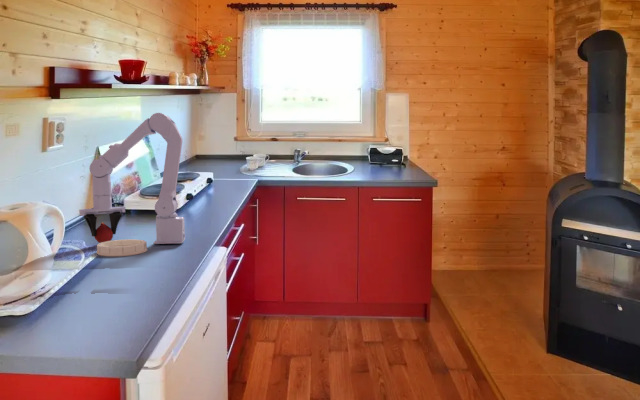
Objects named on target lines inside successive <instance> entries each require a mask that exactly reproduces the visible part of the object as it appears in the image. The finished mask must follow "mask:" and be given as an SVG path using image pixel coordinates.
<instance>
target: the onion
mask: <svg viewBox="0 0 640 400" xmlns="http://www.w3.org/2000/svg"><path fill="white" fill-rule="evenodd" d="M113 237H114V234H113V232H112V230H111V226H109V225H108V224H105V223H104V222H100V225H99V226H98V227H96V236H95V237H94V239H95V240H96V242H98V244H99V243H101V242H106V241H113V240H112V239H113Z"/></svg>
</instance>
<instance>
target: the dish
mask: <svg viewBox="0 0 640 400" xmlns="http://www.w3.org/2000/svg"><path fill="white" fill-rule="evenodd" d="M146 252H148V247H147V241H146V240H142V239H115V240H111V241H106V242H101V243H99V242H98V244H97V245H96V255H97V254H98V255H97V256H101V257H109V258H110V257H112V258H113V257H114V258H115V257H127V256H128V257H131V256H135V255H141V254H144V253H146Z"/></svg>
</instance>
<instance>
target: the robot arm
mask: <svg viewBox="0 0 640 400" xmlns="http://www.w3.org/2000/svg"><path fill="white" fill-rule="evenodd" d="M156 134H158V135H160V136H161V137H162V138H163V140H164V141H165V142H166V143H167V144H166V149H165V150H166V151H165V160H164V166H163V172H162V173H163V174H162V180H161V181H162V182H161V188H160V192H159V195H158V199H157V201H156V202H155V204H154V211H155V213H156V214H157V215H155V233H156V236H155V237H156V238H155V239H156V240H155V241H154V242H153V244H155V245H160V244H161V245H162V244H163V245H164V244H165V245H166V244H170V245H171V244H183V243H184V241H185V240H186V233H185V232H186V231H185V230H186V229H185V227H186V225H185V217H183V216H179V215H178V213H177V210H178V207H179V206H178V200H177V187H178V185H177V184H178V177H179V170H180V161H181V153H182V147H183V137H182V135H181V133H180V131H179V129H178V127H177V124H176V122H175V121H174V120H173V119H172V118H171V117H170V116H168V115H166V114H164V113H162V112H155V113H153V114H151V115H150V117H148V118H146V119H145V120H144V121H143V122H141V123H140V124H139V125H138V127H137V128H136V129H134V131H132V132H131V133H130V134H129V135H128V136H127V137H126V138H125V139H124V140H123V141H122V142H121V143H114V144H110V145H109V146H108V149H107V150H106V151H105V152H104V153H103V154H102V155H101V154H100V155H98V158H97V159H94V160H92V162H91V163H90V164H89V172H90V173H91V175H92V176H91V177H92V201H93V203H92V204H93V205H92V206H93V208H83V209H79V210H78V211H79V214H78V215H79V216H82V217H83V218H84V220H85V221H86V224H87V225H88V227H89V230H90V233H91V237H94V238H95V236H96V229H97V219H98V217H97V216H95V215H104V214H108V216H109V222H110V228H111V230H112V232H113V235H116V233H117V230H118V229H117V228H118V225H119V222H120V220H121V218H122V213H126V207H125V206H113V204H112V202H113V201H112V200H113V199H112V181H111V175H112V173H113V172H114V171H113V170H114V169H116V168H117V167H118V166H119V165H120V164H121V163H122V162H124V160H126V158H128V157H129V151H130V150H131V149H132V148H133V147H134V146H136V144H139V142H140V141H142V140H143V139H144V138H145V137H147V136H149V135H151V136H152V135H156Z"/></svg>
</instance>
